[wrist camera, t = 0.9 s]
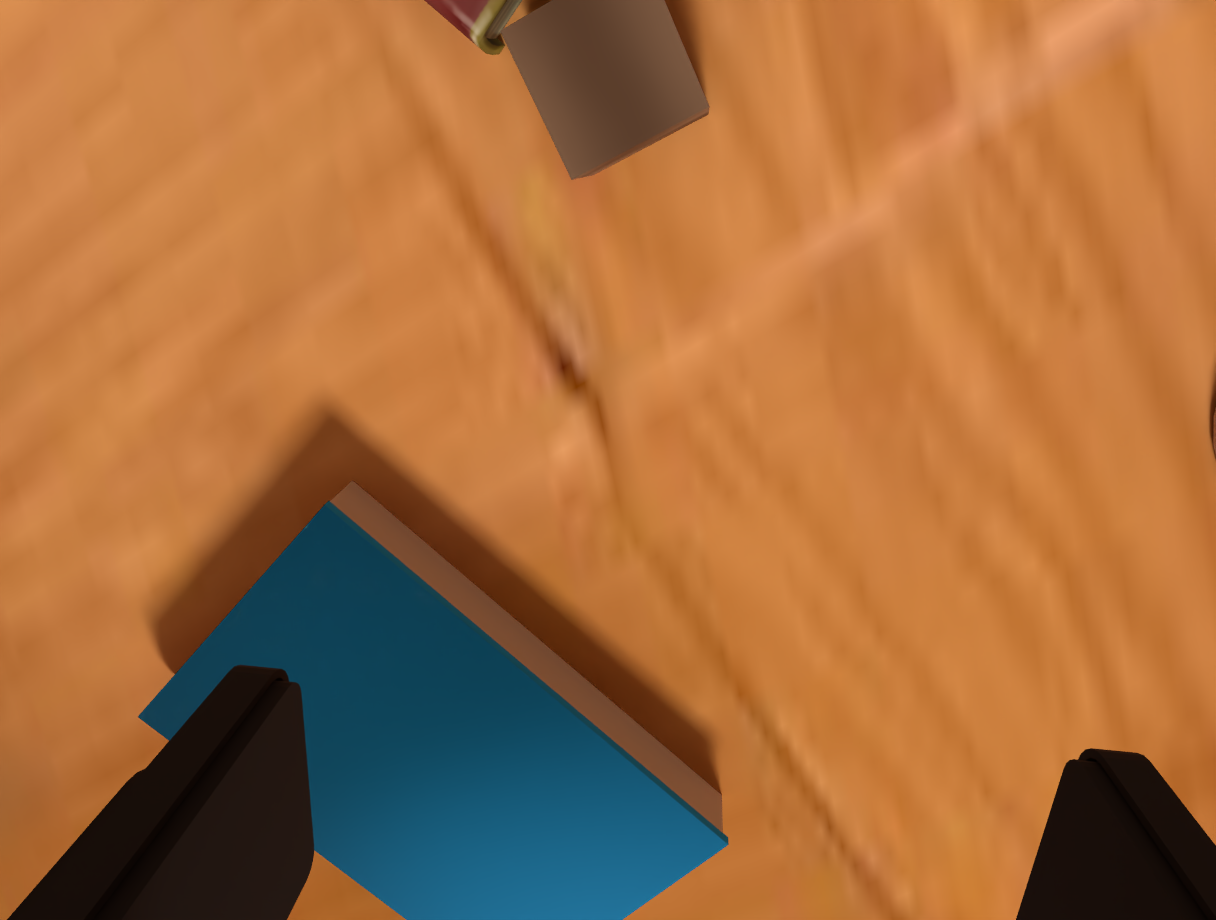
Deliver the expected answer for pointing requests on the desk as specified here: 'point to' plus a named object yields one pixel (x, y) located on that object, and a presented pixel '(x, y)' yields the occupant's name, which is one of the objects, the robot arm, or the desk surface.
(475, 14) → the hardcover book
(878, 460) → the desk surface
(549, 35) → the walnut block
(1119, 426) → the desk surface
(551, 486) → the desk surface
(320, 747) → the book
